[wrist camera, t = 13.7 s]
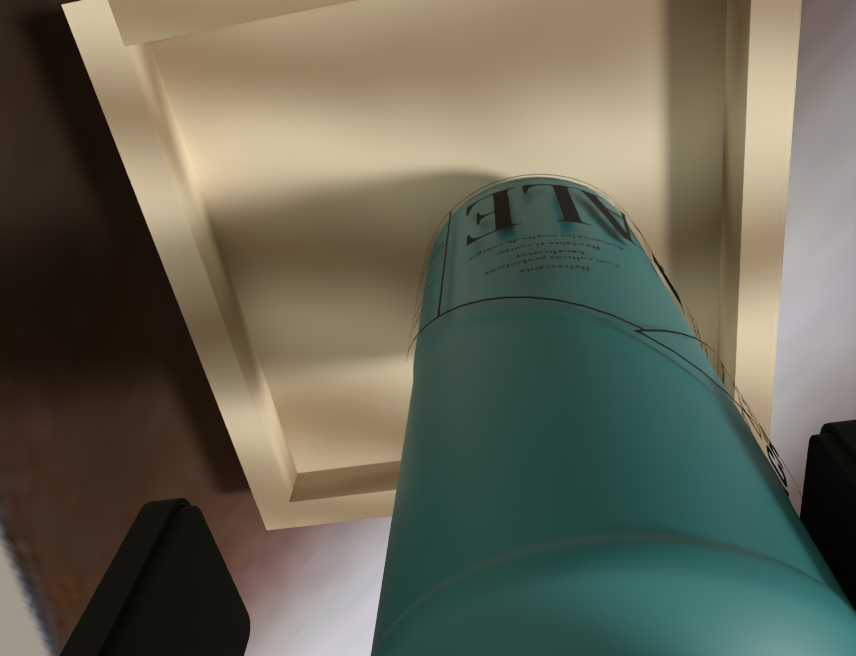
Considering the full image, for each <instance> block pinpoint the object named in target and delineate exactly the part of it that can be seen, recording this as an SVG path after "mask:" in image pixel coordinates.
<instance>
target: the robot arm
mask: <svg viewBox="0 0 856 656" xmlns="http://www.w3.org/2000/svg"><path fill="white" fill-rule="evenodd" d="M802 498H803V499H802V504H801V513H800V520H801V521H802V523H803V525H804V526H805V528H806V530H807V531H808V533H809V535H810V536H811V538H812V540H813V541H814V543H815V545H816V546H817V548H818V550H819V551H820V553H821V549H822V552H823V556H824V560H825V561H826V563H827V565H828V566H829V568H830V570H831V571H832V573H833V575H834V576H835V578H836V580H837V581H838V583H839V585H840V586H841V588H842V590H843V591H844V593H845V595H846V596H847V598H848V600H849V601H850V603H851V605H852V606H853V608H854V609H855V610H856V420H850V421H841V422H833V423H827V424H824V425H823V427H822V428H821V432H820V434H818V435H812V436H811V438H810V440H809V446H808V454H807V462H806V471H805V479H804V488H803V496H802ZM806 507H807V508H806ZM807 509H808V510H807ZM808 511H809V512H808ZM809 513H810V516H811V518H810V516H809ZM811 519H812V521H811ZM812 522H813V524H812ZM813 525H814V527H813ZM814 528H815V530H814ZM815 531H816V533H815ZM816 534H817V536H816ZM817 537H818V539H817ZM818 540H819V542H818ZM819 543H820V545H819ZM820 546H821V548H820ZM821 555H822V553H821ZM249 635H250V619H249V615H248V612H247V610H246V608H245V606H244V603H243V601H242V599H241V597H240V595H239V593H238V590H237V588H236V586H235V584H234V582H233V579H232V577H231V575H230V573H229V571H228V569H227V566H226V564H225V562H224V560H223V558H222V556H221V553H220V551H219V549H218V547H217V545H216V543H215V540H214V538H213V536H212V534H211V532H210V529H209V527H208V525H207V523H206V521H205V519H204V516H203V514H202V512H201V510H200V509H199V508H198V507H197V506H191V505H190V503H189V502H188V501H187V500H186V499H184V498H177V499H169V500H160V501H152V502H148V503H146V504H145V505H144V506H143V507H142V509H141V510H140V512H139V514H138V516H137V517H136V519H135V521H134V523H133V525H132V526H131V528H130V530H129V532H128V534H127V535H126V537H125V539H124V541H123V543H122V544H121V546H120V548H119V550H118V552H117V553H116V555H115V557H114V559H113V561H112V562H111V564H110V566H109V568H108V570H107V571H106V573H105V575H104V577H103V579H102V580H101V582H100V584H99V586H98V588H97V589H96V591H95V593H94V595H93V597H92V598H91V600H90V602H89V604H88V606H87V607H86V609H85V611H84V613H83V615H82V616H81V618H80V620H79V622H78V624H77V625H76V627H75V629H74V631H73V633H72V634H71V636H70V638H69V640H68V642H67V643H66V645H65V647H64V649H63V651H62V652H61V654H60V656H244V653H245V650H246V647H247V643H248V640H249Z"/></svg>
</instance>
